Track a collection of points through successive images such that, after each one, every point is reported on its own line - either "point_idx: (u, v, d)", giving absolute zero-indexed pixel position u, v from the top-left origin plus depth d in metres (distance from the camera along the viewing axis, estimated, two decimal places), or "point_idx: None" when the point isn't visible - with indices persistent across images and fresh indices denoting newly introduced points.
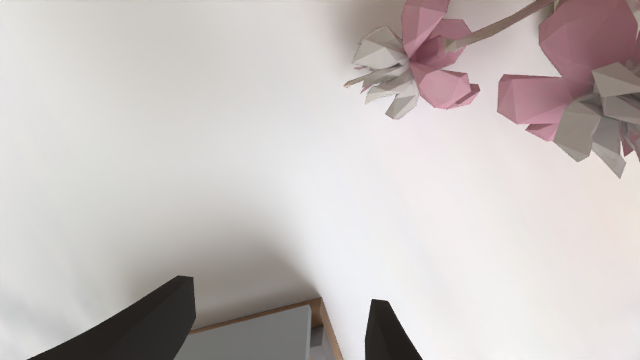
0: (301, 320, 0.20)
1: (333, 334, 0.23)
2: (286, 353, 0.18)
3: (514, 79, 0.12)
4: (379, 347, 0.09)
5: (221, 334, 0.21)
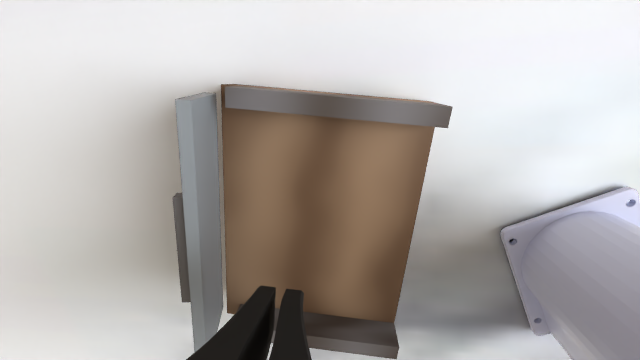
0: None
1: (281, 88, 0.18)
2: None
3: None
4: None
5: None
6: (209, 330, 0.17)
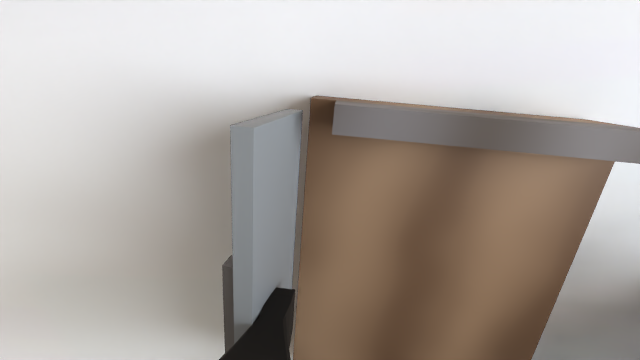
0: None
1: None
2: None
3: None
4: None
5: None
6: None
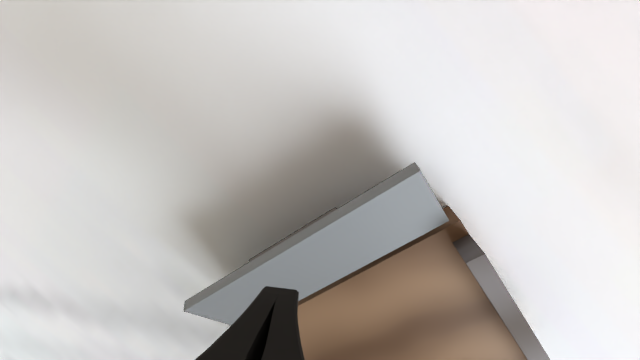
0: None
1: None
2: None
3: None
4: None
5: None
6: (222, 300, 0.17)
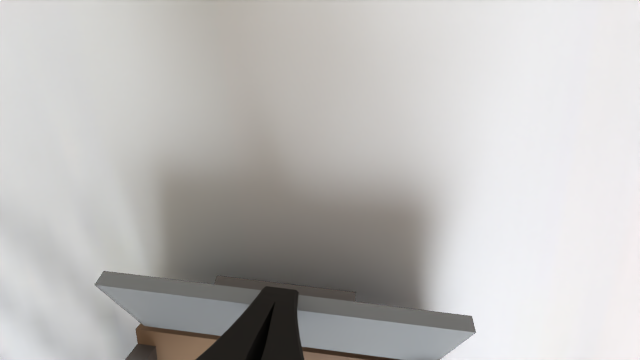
0: None
1: None
2: None
3: None
4: None
5: None
6: (152, 300, 0.12)
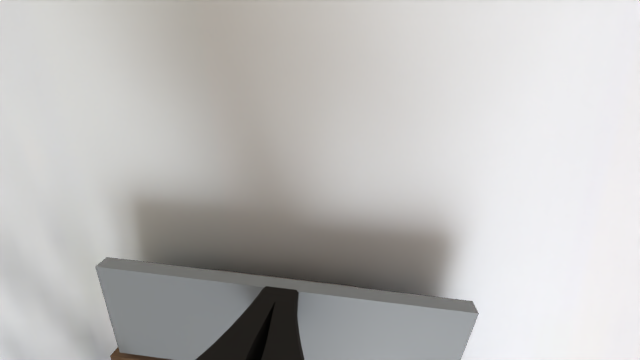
0: None
1: None
2: None
3: None
4: None
5: None
6: (147, 291, 0.12)
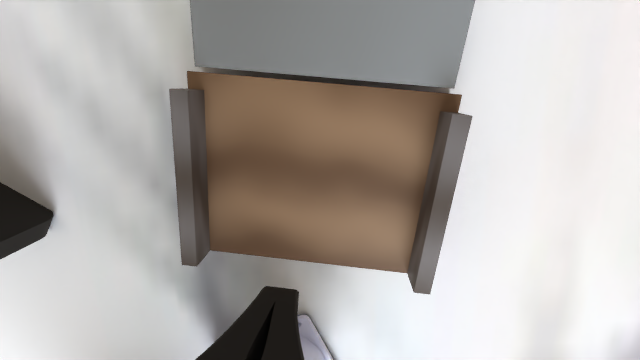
0: None
1: None
2: None
3: None
4: None
5: None
6: None
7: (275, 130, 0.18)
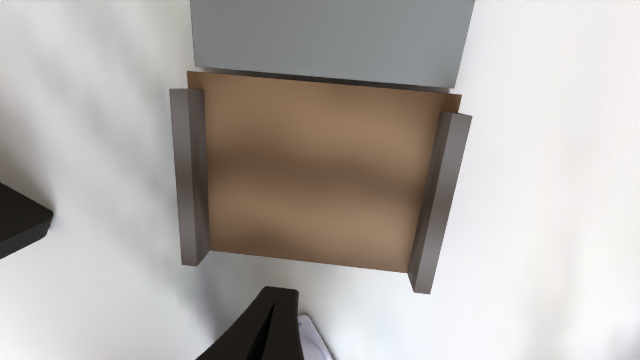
0: None
1: None
2: None
3: None
4: None
5: None
6: None
7: (275, 130, 0.18)
